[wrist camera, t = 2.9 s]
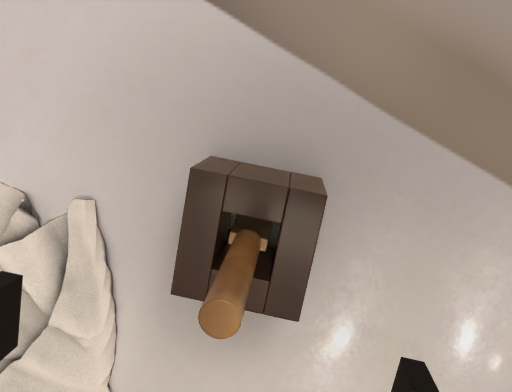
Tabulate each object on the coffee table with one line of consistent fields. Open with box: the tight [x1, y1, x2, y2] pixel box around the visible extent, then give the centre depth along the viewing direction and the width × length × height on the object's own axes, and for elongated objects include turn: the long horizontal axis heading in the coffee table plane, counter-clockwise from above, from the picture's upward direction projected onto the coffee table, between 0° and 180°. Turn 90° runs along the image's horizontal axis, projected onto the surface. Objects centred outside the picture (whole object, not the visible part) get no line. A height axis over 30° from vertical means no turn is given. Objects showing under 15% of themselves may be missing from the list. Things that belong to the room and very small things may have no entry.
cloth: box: [0, 183, 116, 392], centre depth 34 cm, size 20×22×2 cm
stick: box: [198, 215, 272, 339], centre depth 24 cm, size 2×2×15 cm
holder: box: [171, 156, 327, 322], centre depth 29 cm, size 8×8×6 cm
